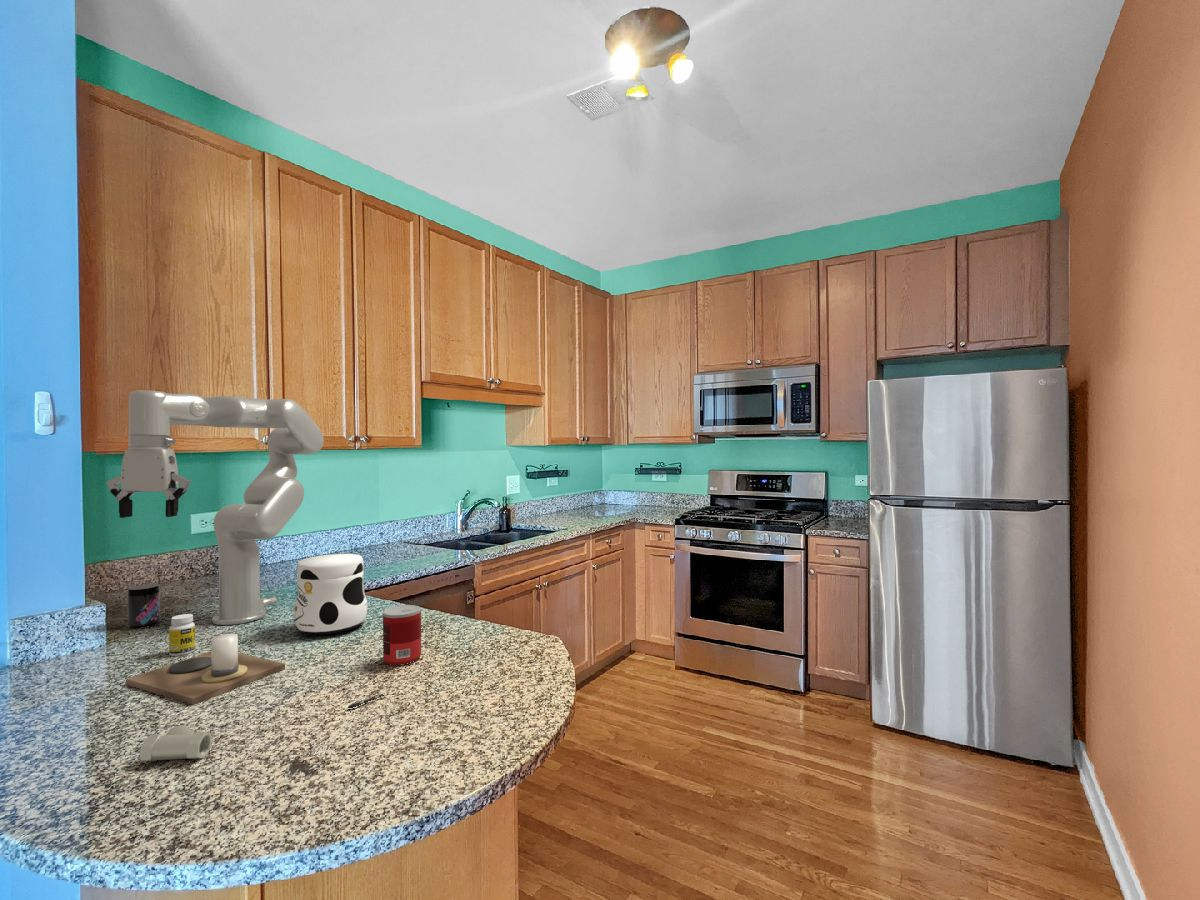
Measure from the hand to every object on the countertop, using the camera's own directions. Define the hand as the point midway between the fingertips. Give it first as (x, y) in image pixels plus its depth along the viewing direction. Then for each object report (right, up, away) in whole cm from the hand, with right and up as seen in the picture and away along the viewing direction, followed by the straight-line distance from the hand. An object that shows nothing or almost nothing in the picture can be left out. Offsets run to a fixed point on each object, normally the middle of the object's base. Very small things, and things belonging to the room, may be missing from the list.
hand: (148, 516), depth 129 cm
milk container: (+36, -31, +15) cm, 49 cm away
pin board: (+25, -31, -16) cm, 43 cm away
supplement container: (-16, -32, +19) cm, 40 cm away
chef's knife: (+67, -31, -24) cm, 78 cm away
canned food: (+62, -31, -7) cm, 70 cm away
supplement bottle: (+9, -31, -2) cm, 33 cm away
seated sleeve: (+30, -29, -18) cm, 46 cm away
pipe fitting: (+42, -31, -44) cm, 68 cm away
